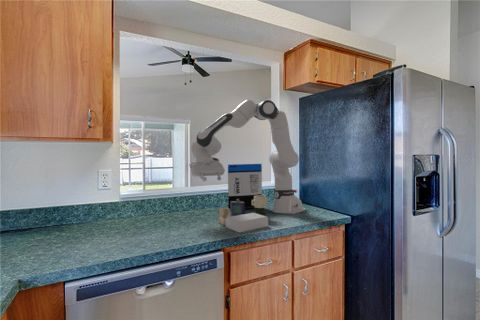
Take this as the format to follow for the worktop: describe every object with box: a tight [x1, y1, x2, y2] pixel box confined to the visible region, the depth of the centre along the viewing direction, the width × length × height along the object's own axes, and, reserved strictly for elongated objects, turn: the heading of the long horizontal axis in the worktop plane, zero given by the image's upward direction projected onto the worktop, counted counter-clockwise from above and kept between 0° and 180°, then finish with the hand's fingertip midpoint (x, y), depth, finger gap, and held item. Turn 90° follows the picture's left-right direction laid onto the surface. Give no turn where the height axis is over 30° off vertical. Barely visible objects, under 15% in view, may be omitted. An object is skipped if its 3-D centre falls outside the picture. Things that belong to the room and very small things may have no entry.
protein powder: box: [227, 163, 263, 211], centre depth 182 cm, size 10×24×30 cm, turn 110°
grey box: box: [225, 212, 269, 233], centre depth 138 cm, size 18×12×5 cm, turn 125°
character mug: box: [252, 194, 269, 217], centre depth 154 cm, size 11×7×13 cm, turn 115°
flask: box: [230, 199, 246, 217], centre depth 159 cm, size 9×3×11 cm, turn 65°
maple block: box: [218, 207, 231, 226], centre depth 144 cm, size 4×4×8 cm
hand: (212, 180), depth 154 cm, fingers open, 8 cm apart
